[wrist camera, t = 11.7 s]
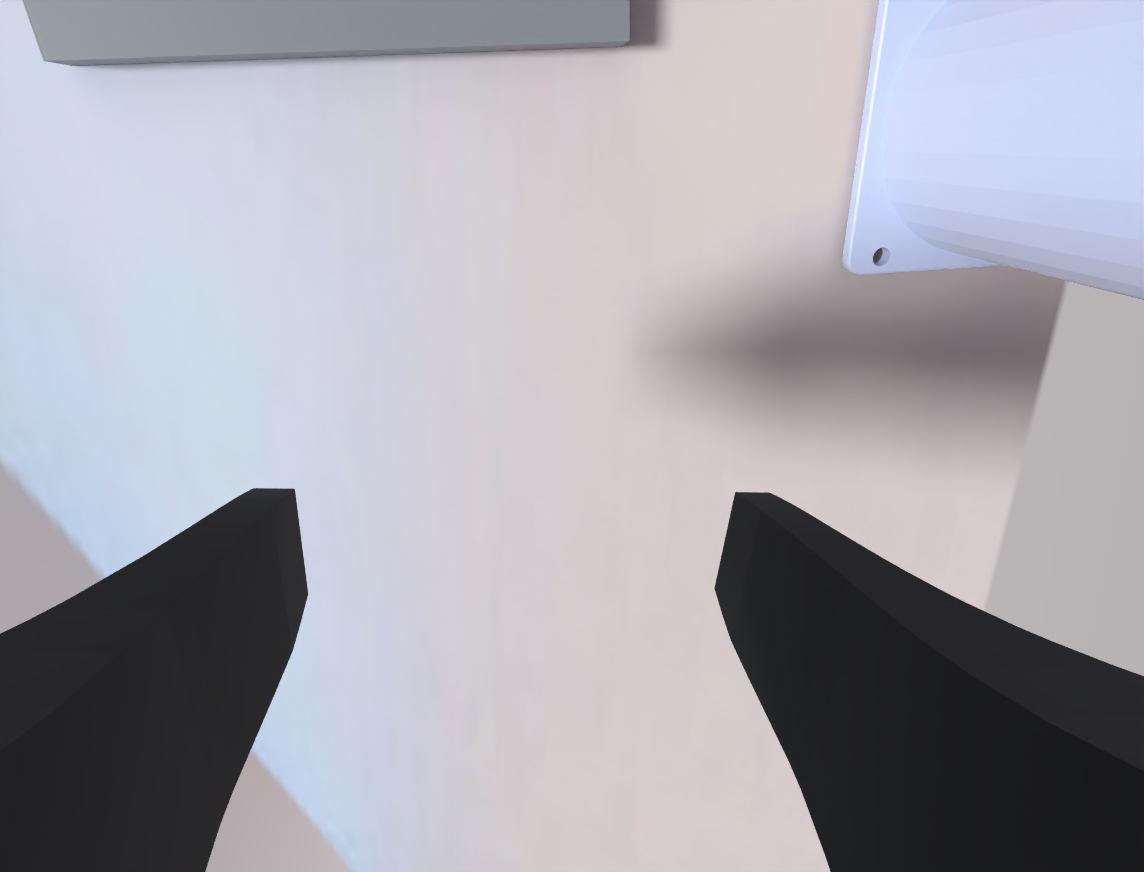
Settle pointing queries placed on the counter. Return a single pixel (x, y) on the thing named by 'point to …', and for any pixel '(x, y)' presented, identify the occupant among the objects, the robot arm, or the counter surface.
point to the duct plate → (314, 28)
